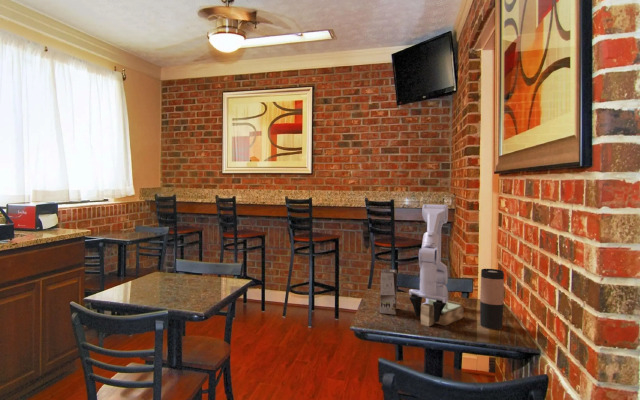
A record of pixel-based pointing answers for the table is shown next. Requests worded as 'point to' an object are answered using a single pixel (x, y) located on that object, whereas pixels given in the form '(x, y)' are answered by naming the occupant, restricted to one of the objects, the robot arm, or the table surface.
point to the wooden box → (450, 315)
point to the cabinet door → (447, 306)
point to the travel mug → (491, 298)
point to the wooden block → (427, 314)
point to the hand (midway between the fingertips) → (427, 318)
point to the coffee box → (388, 291)
